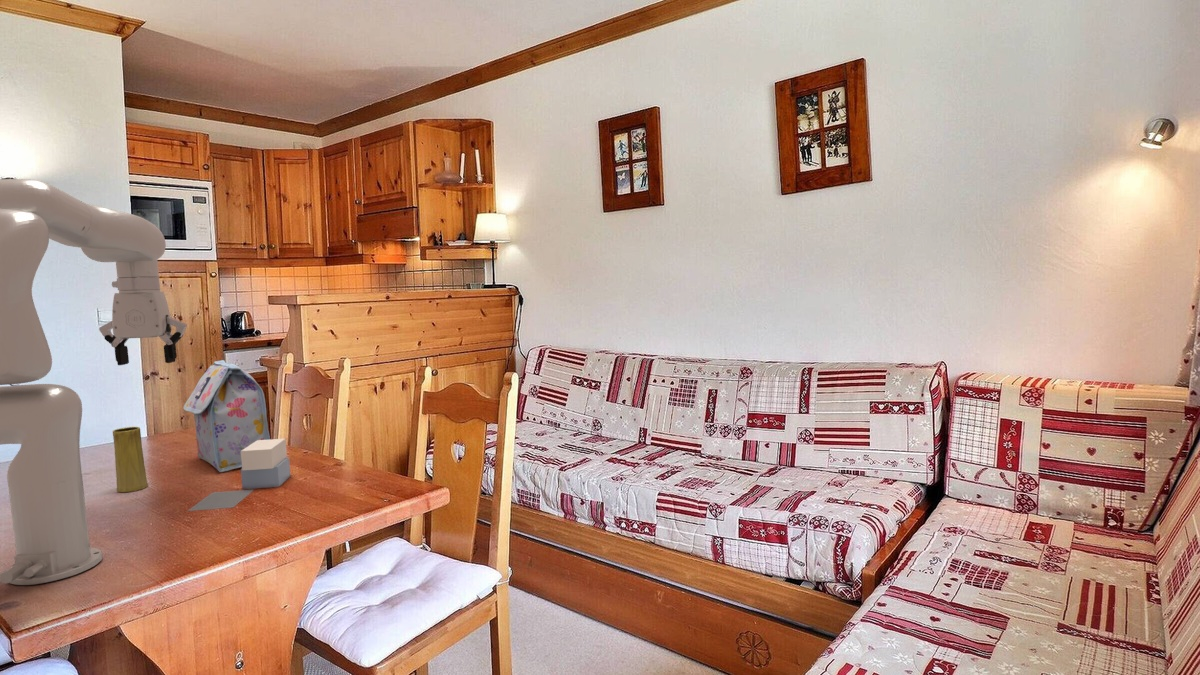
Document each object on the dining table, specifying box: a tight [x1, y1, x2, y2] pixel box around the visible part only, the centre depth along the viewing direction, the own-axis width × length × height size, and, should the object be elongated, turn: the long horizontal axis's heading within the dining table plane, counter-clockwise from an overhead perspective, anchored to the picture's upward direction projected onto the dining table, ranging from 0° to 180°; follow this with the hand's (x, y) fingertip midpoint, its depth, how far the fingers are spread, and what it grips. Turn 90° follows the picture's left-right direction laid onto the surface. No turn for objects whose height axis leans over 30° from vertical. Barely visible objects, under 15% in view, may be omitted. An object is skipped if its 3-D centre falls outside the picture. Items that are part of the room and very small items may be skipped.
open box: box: [240, 457, 291, 490], centre depth 156 cm, size 8×8×5 cm
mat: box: [187, 488, 256, 512], centre depth 145 cm, size 12×9×1 cm
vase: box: [112, 426, 149, 494], centre depth 156 cm, size 6×6×14 cm
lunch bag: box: [182, 359, 271, 473], centre depth 177 cm, size 22×17×26 cm
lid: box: [241, 438, 288, 471], centre depth 156 cm, size 10×6×4 cm, turn 8°
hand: (147, 363), depth 147 cm, fingers open, 9 cm apart
